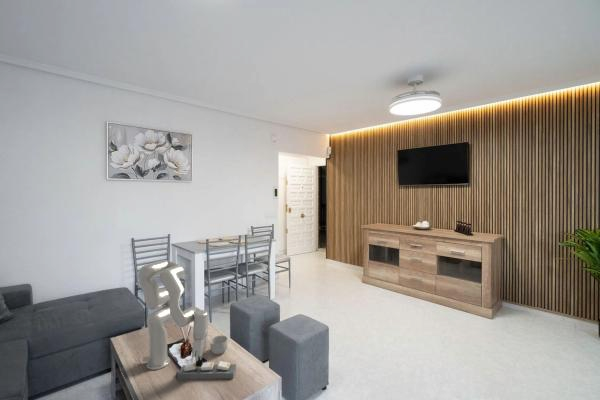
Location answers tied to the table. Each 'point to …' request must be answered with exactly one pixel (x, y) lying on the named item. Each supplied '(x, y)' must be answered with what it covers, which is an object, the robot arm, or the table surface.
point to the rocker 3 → (223, 365)
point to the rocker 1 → (190, 366)
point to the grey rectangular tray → (207, 373)
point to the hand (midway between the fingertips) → (199, 365)
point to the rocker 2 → (207, 366)
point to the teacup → (218, 344)
